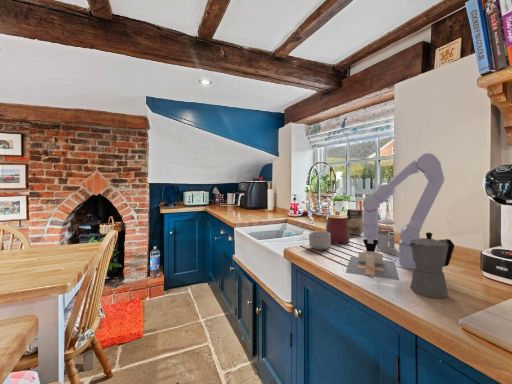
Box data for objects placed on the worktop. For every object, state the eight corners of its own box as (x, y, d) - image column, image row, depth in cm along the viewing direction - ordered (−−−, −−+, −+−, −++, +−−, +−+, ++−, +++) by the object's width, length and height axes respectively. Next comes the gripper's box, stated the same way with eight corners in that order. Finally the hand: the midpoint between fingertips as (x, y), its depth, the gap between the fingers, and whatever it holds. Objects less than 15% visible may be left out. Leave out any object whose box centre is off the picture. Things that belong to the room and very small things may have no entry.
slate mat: (394, 262, 102) (394, 261, 102) (399, 281, 82) (399, 279, 82) (350, 257, 109) (350, 256, 109) (345, 273, 90) (345, 272, 90)
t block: (382, 262, 101) (382, 252, 101) (383, 268, 93) (383, 258, 93) (358, 259, 105) (358, 250, 105) (357, 265, 97) (357, 255, 97)
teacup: (331, 252, 118) (331, 235, 118) (308, 251, 121) (308, 234, 120) (329, 245, 132) (329, 230, 132) (308, 244, 134) (308, 229, 134)
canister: (321, 241, 142) (321, 210, 141) (333, 237, 150) (333, 209, 150) (342, 245, 132) (342, 212, 131) (353, 241, 141) (353, 210, 140)
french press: (371, 249, 123) (371, 199, 122) (381, 245, 130) (381, 198, 130) (392, 253, 115) (393, 200, 115) (401, 249, 123) (401, 199, 122)
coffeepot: (423, 301, 68) (424, 236, 68) (397, 287, 77) (398, 230, 77) (468, 295, 71) (469, 234, 71) (438, 283, 80) (439, 228, 80)
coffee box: (346, 234, 160) (346, 209, 159) (348, 232, 165) (348, 209, 165) (361, 235, 155) (361, 210, 154) (363, 234, 160) (363, 209, 160)
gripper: (361, 222, 113) (361, 251, 113) (359, 227, 100) (359, 260, 100) (378, 223, 110) (378, 253, 110) (379, 228, 96) (378, 262, 97)
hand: (370, 256), depth 105 cm, fingers closed
